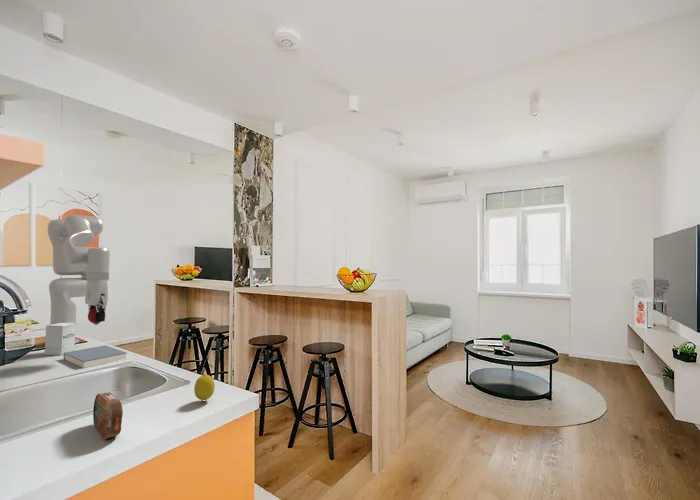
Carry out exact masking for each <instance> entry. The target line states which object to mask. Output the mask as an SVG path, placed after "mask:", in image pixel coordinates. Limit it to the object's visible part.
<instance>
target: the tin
mask: <svg viewBox="0 0 700 500" xmlns="http://www.w3.org/2000/svg"><path fill="white" fill-rule="evenodd" d="M93 401H94V403H93V411H92V412H93V414H92V416H93V418H92V419H93V421H92V422H93V426H94V429H95V430H96V431H97V432H98V433H99V435H100V436H101V437H102V439H104V440H108V439H110V438H114V437H117V436H119V435H120V433H121V431H122V422H123V421H122V420H123V415H124V414H123V410H124V409H123V405H122V402H121V401H120V400H119V398H117V397H116V396H115V395H114V394H113V392H110V391H108V392H102V393H97V394H96V396H95V399H94V400H93Z"/></svg>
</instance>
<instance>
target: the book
mask: <svg viewBox="0 0 700 500" xmlns="http://www.w3.org/2000/svg"><path fill="white" fill-rule="evenodd" d="M125 358H126V359H127V352H126V351H123V350H121V349H117V348H114V347H112V346H108V345H100V346H93V347H89V348H82V349H78V350H77V349H76V350H74V351H70V352H65V353H64V354H63V360H64V361H66V362H68V363H71V364H73V365H74V366H77V367H78V368H79V367H80V368H81V369H87V368H93V367H96V366H102V365H106V363H107V364H110V362H111V363H115V362H114V361H116V362H119V361H118V360H121V361H123V360H122V359H125ZM126 359H125V360H126Z"/></svg>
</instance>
